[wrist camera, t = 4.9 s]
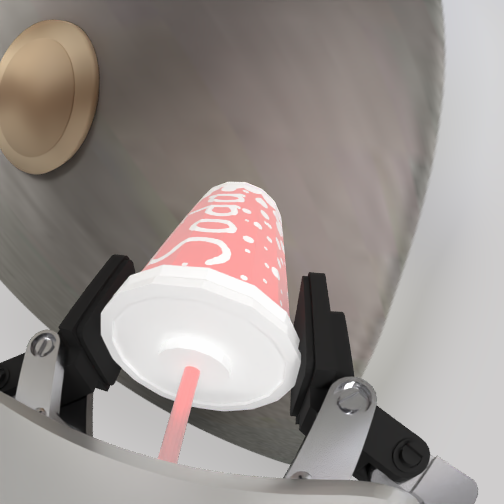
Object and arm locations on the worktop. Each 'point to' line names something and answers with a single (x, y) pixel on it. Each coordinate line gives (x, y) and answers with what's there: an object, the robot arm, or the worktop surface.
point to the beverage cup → (210, 312)
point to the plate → (47, 95)
